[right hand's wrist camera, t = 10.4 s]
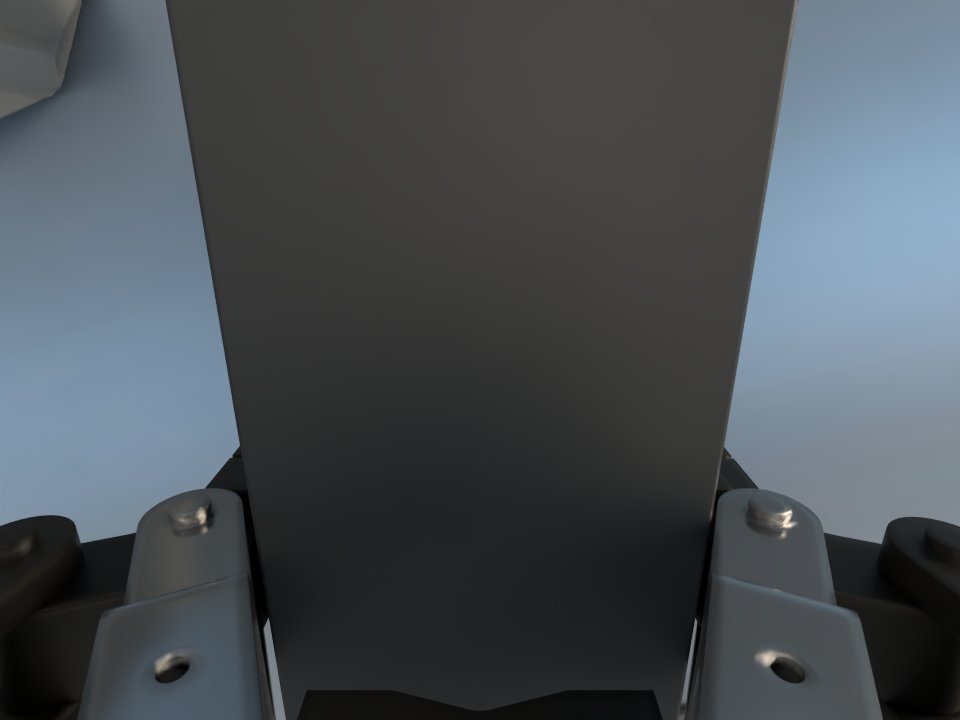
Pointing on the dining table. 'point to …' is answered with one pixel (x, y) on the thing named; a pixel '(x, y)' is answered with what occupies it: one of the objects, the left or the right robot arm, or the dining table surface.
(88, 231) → the dining table surface
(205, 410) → the dining table surface
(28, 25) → the vase
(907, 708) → the right robot arm
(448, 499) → the box
